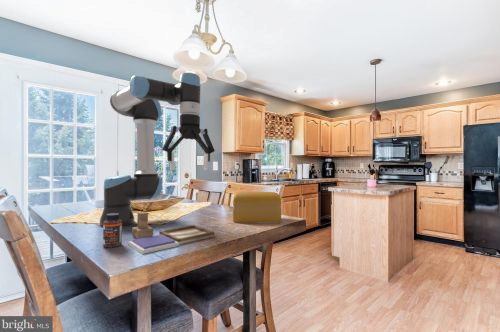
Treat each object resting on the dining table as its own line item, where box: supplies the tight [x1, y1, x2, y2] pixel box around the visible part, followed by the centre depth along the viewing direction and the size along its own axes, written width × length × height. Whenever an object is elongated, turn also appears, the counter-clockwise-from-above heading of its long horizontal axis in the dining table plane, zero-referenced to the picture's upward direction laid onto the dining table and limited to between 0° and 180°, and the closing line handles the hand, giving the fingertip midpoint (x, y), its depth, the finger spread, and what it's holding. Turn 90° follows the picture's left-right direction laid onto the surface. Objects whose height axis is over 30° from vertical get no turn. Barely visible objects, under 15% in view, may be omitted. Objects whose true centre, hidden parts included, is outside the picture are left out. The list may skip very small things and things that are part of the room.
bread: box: [232, 191, 282, 224], centre depth 137 cm, size 24×13×15 cm, turn 92°
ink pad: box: [127, 234, 180, 255], centre depth 94 cm, size 13×13×2 cm
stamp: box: [131, 211, 154, 240], centre depth 104 cm, size 6×6×10 cm
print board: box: [158, 224, 215, 245], centre depth 106 cm, size 16×16×2 cm
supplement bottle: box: [102, 213, 123, 249], centre depth 93 cm, size 6×6×11 cm
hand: (189, 170), depth 101 cm, fingers open, 13 cm apart
